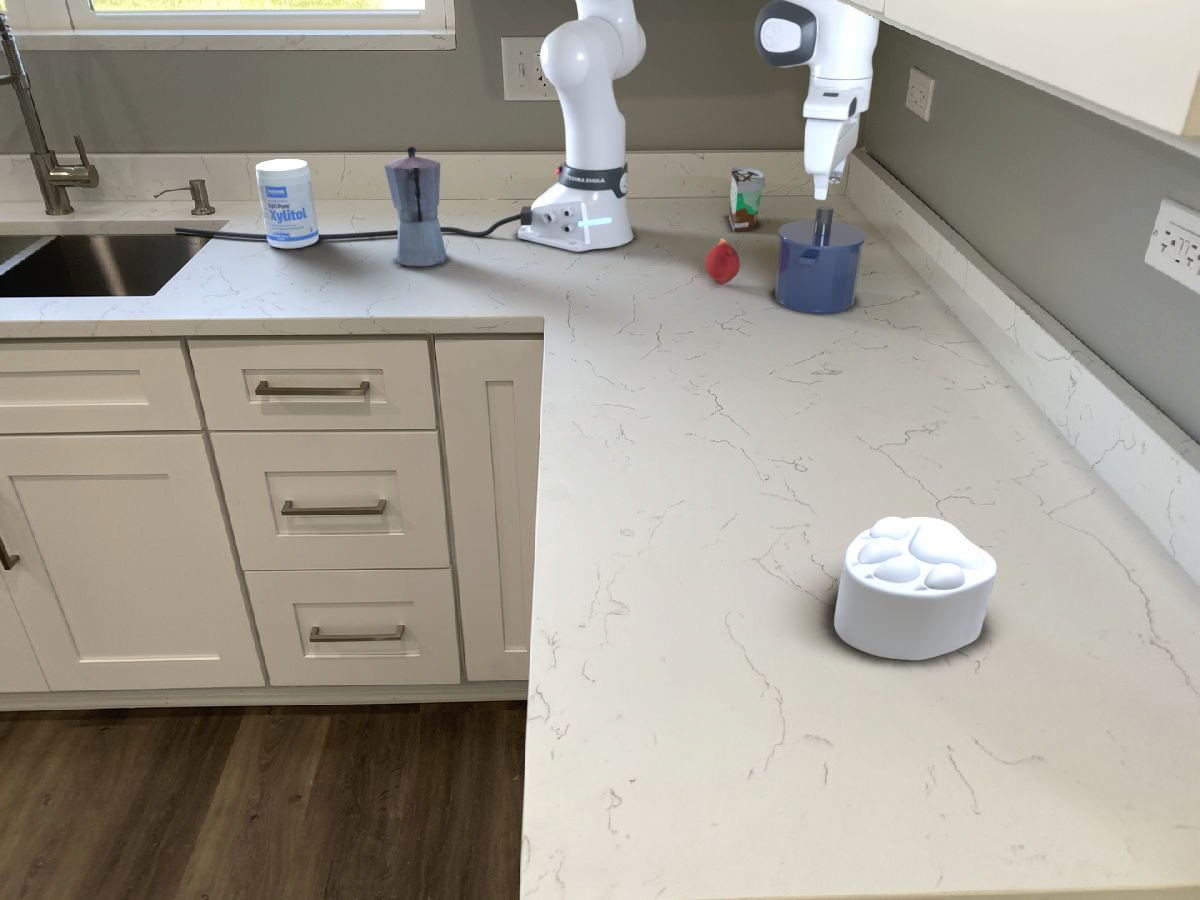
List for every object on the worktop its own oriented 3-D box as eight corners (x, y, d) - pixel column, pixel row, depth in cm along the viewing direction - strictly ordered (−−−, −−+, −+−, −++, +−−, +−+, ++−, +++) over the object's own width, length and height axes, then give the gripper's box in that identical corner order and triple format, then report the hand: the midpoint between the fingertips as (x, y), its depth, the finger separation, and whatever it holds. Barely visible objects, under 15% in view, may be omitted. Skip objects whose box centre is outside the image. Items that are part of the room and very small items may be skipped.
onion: (737, 279, 159) (741, 233, 155) (738, 291, 155) (742, 244, 150) (703, 277, 160) (706, 232, 156) (703, 290, 155) (706, 243, 151)
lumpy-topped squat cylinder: (997, 636, 83) (1019, 559, 78) (876, 676, 78) (892, 597, 74) (921, 569, 91) (937, 496, 86) (808, 602, 87) (819, 527, 82)
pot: (761, 312, 147) (767, 248, 141) (790, 275, 161) (797, 216, 155) (840, 325, 142) (849, 259, 137) (863, 286, 156) (872, 225, 151)
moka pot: (442, 245, 176) (432, 137, 165) (457, 272, 163) (447, 156, 153) (391, 250, 173) (378, 141, 163) (403, 278, 160) (389, 161, 150)
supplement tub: (275, 253, 172) (260, 173, 165) (262, 239, 179) (247, 162, 172) (327, 244, 176) (314, 166, 169) (312, 231, 183) (299, 155, 176)
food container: (766, 233, 181) (770, 182, 175) (734, 233, 181) (738, 182, 175) (757, 215, 191) (761, 166, 186) (728, 215, 191) (731, 166, 186)
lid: (767, 247, 144) (770, 214, 141) (790, 222, 154) (793, 191, 151) (855, 259, 139) (860, 225, 136) (872, 233, 149) (877, 201, 146)
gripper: (833, 83, 144) (823, 172, 151) (800, 107, 129) (790, 205, 136) (874, 85, 142) (862, 176, 149) (845, 110, 126) (833, 210, 133)
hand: (828, 190), depth 142 cm, fingers open, 8 cm apart
